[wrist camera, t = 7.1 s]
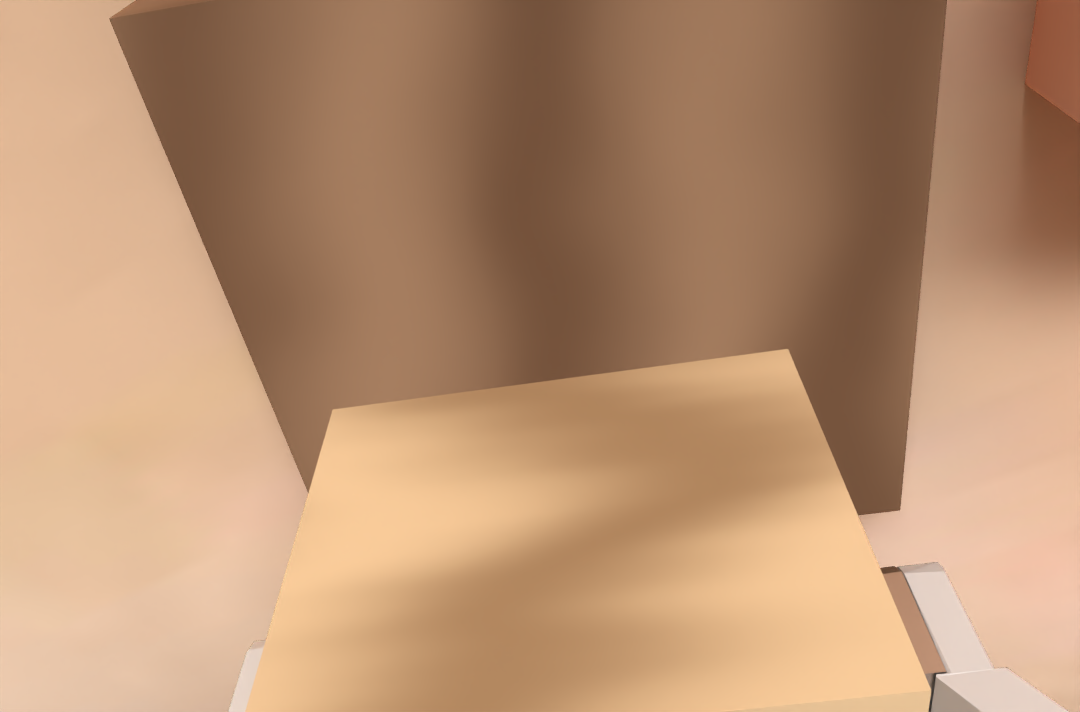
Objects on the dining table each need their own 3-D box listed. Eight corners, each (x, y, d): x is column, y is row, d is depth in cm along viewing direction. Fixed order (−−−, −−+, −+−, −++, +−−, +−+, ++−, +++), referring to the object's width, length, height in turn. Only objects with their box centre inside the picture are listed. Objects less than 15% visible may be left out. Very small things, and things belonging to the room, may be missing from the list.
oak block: (787, 348, 12) (931, 690, 7) (789, 645, 15) (888, 993, 11) (332, 409, 12) (230, 761, 8) (433, 683, 15) (398, 1031, 11)
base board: (914, -146, 16) (958, -132, 14) (874, 455, 24) (899, 510, 22) (150, -10, 17) (109, 18, 15) (355, 518, 25) (342, 574, 23)
